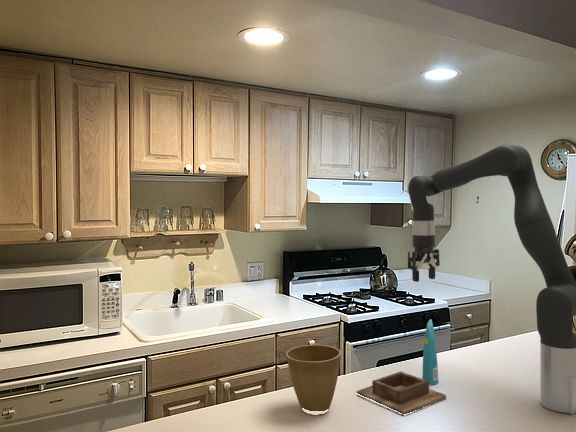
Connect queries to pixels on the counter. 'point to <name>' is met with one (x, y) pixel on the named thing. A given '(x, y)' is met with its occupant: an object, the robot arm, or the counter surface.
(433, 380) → the tube
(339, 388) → the counter surface
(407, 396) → the socket board
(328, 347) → the plant pot
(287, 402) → the counter surface
